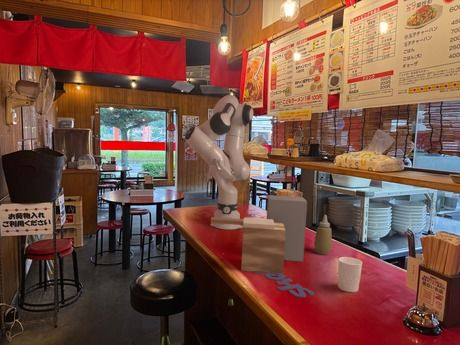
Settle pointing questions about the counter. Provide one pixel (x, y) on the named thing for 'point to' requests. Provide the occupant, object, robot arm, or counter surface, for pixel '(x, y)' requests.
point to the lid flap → (246, 222)
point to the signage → (287, 284)
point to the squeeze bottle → (323, 237)
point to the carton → (290, 223)
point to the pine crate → (263, 249)
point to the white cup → (349, 273)
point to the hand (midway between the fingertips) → (234, 175)
